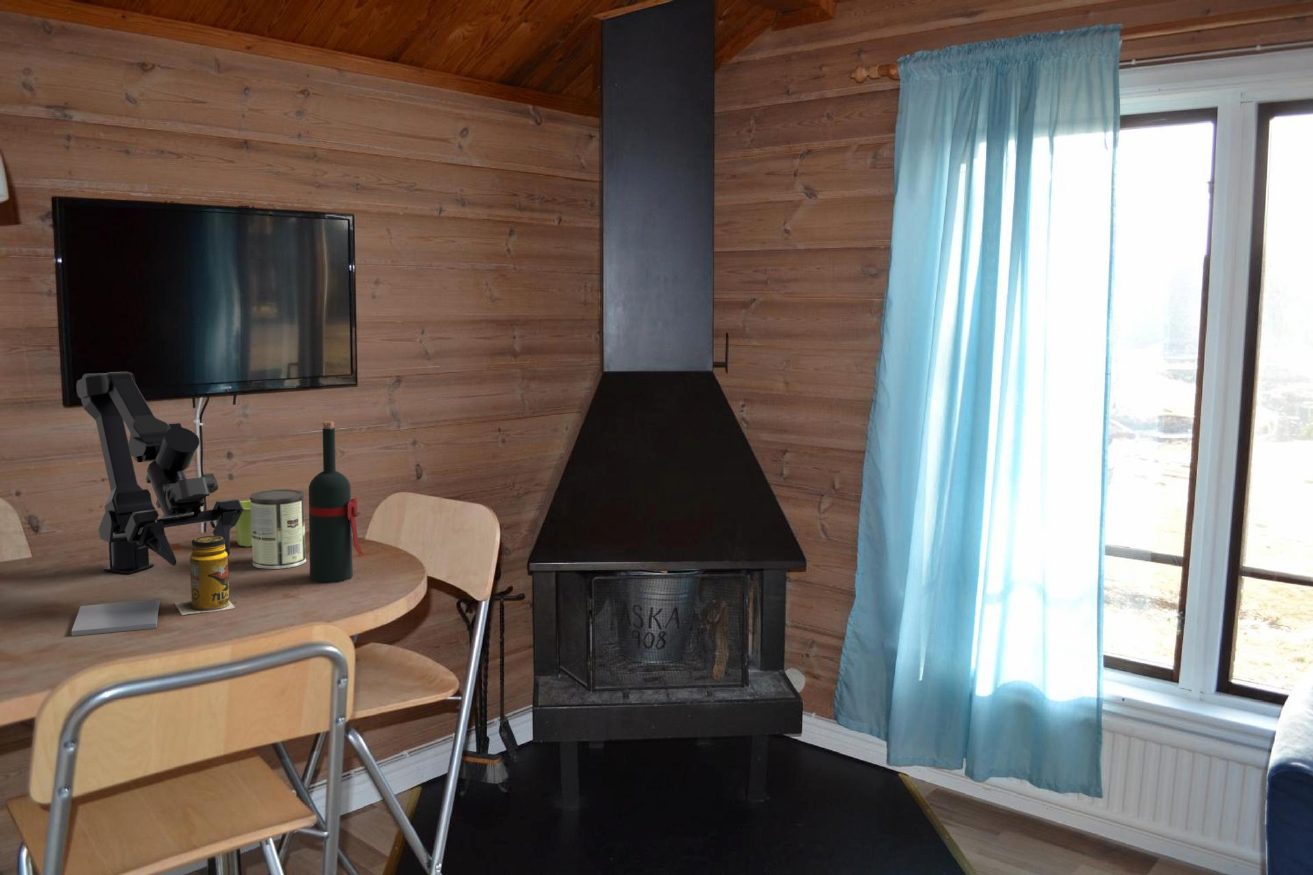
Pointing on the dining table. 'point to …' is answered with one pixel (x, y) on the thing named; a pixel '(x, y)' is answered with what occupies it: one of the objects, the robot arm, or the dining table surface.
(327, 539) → the wine bottle
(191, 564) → the condiment
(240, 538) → the plant pot
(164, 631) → the dining table surface
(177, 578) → the dining table surface
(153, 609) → the board
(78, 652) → the dining table surface
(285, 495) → the coffee can
